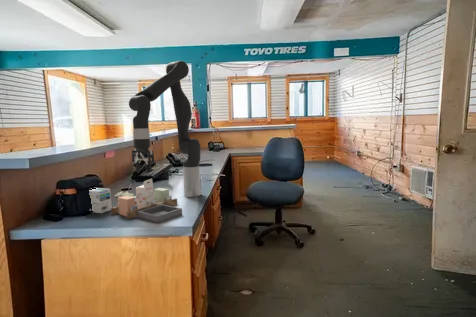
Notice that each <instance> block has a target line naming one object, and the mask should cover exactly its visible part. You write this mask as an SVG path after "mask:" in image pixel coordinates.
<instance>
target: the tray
mask: <svg viewBox="0 0 476 317" xmlns="http://www.w3.org/2000/svg"><path fill="white" fill-rule="evenodd" d="M180 216H183V209H182V208H180V207H176V206H168V205H163V204H162V205H158V206H155V207H151V208H148V209H145V210H141V211H138V217H137V218H138V219H139V220H144V221H147V222H151V223H155V224H160V223H163V222H166V221H168V220H171V219H175V218H176V217H180Z"/></svg>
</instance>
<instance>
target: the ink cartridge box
mask: <svg viewBox="0 0 476 317" xmlns="http://www.w3.org/2000/svg"><path fill="white" fill-rule="evenodd" d="M136 199H137V206H138V209H140V208H143V207H147V206H150V201H152V200H154V183H153V178H150V179H147V180H144V181H143V184H142V185H140V186H136V187H135V200H136Z"/></svg>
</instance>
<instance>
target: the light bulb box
mask: <svg viewBox="0 0 476 317" xmlns="http://www.w3.org/2000/svg"><path fill="white" fill-rule="evenodd" d="M95 188H96V189H92V188H91V189H92V190H89V195H90V198H91V204H92V211H93V212H92V213H96V214H103V213H106V212H111V208H112V206H113V205H112V196H111V195H112V194H111V192H112V191H111V189H110V188H103V187H95Z"/></svg>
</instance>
